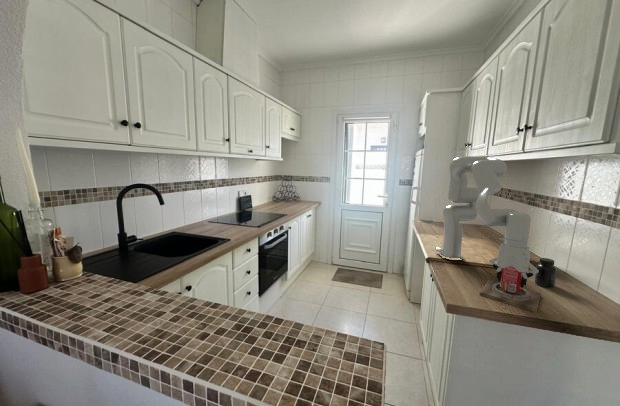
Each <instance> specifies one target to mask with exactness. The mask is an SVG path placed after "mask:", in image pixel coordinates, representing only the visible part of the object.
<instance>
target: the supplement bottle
mask: <svg viewBox="0 0 620 406" xmlns="http://www.w3.org/2000/svg"><path fill="white" fill-rule="evenodd" d="M535 268H536V269H538V270H539V272H538V273H537V274H535V275H534V283H535V285H537V286H540V287H543V288H545V289H546V288H548V289H552V288H555V287H556V279H557V267H556V266H555V260H554V259H553V258H552V259H551V258H547V257H540V258H539V262H538V263H537V264H536V265H535Z"/></svg>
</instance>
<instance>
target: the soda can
mask: <svg viewBox="0 0 620 406" xmlns="http://www.w3.org/2000/svg"><path fill="white" fill-rule="evenodd" d="M512 266H514V265H510V266H508V267H506V268H502V270H501V280H500V281H499V282H500V287H501V288H502V289H503V290H505V291H507V292H510V293H517V292H520V291H521V288H522V287H521V280H522V278H523V275H522V273H521V272H518V270H517V269H516V268H514V267H512Z"/></svg>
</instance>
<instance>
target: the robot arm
mask: <svg viewBox="0 0 620 406" xmlns="http://www.w3.org/2000/svg"><path fill="white" fill-rule="evenodd" d="M507 167H508V166H507V164H506V162H504V160H502V159H500V158H495V157H490V156H486V155H485V156H483V155H481V156H480V155H478V156H477V155H475V156H472V155H471V156H470V155H469V156H457V157H455V158H453V159H452V160H451V162H450V163H449V178H450V179H449V186H448V194H447V197H448V198H447V199H448V201H449V202H451V203H454V204H449V205H446V206H445V207H444V208H443V210H442V215H443V216H442V217H443V237H442V238H443V240H442V241H443V243H442V247H438V246H436V247H435V252H440V253H439V254H441V255H443V256H445V257H449V258H460V259H463V258H464V255H462V247H463V245H462V244H463V242H462V241H463V232H464V231H463V230H464V228H463V226H462V224H460V222H471V221H474V220H476V218H477V216H478V217H479V220H480V221H481V223H482V224H483V225H484V226H487V227H504V236H503V237H499V241H502V243H501V244H500V245H499V249H498V253H497V256H496V257H494V258H491V259H489V263H490V265H491V266H492V267H493V268H494V270H496V271H495V272H496V279H497V282H500V280H501V270H502V268H506V267H508V266H510V265H514V266H512V267H514V268H516V269H517V270H518V272H521V273H522V275H523V278H522V280H521V287H522V288H524V286H525V287H526V286H527V282H528V279H529V278H531V277H534V276H535V274H537V273H538V272H539V270H538V269H536V266H534V264H533V263H531V262H530V261H531V251H530V247H528V243H529V237H530V236H529V235H530V227H531V219H532V217H531V216H530V214H528V213H525V212H520V211H518V210H515V209H513V208H491V206H490V205H489V201H488V198H489V196H492V195H494V194H497V193H498V192H499V191H501V189H502V186H503V185H502V183H501V182H500V180H499V178H501V177H503V176H505V175H506V173H507V170H508V168H507ZM469 173H472V175H473V176H472V177H473V178H474V180H475V183H476V185H477V186H475V185H474V186H473V185H468V183H469V182H468V181H469V179H468V176H467V174H469ZM463 260H464V259H463ZM529 269H531V271H529Z"/></svg>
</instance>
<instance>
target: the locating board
mask: <svg viewBox="0 0 620 406" xmlns="http://www.w3.org/2000/svg"><path fill="white" fill-rule="evenodd" d="M479 295H480V296H483V297H485V298H486V297H487V298H489V299H492V300H495V301H498V302H502V303H504V304H508V305H512V306H514V307H517V308H520V309H525V310H528V311H532V312H534V313H537V311H538V310H537V309H538V306H539V303H540V300H541V296H542V293H541V292H537V291H533V290H529V289H526V288H524V287H523V288H521V291H520V292H517V293H510V292H507V291H505V290H503V289H502V288H501V287H500V281H496V280H492V279H488V281H487V282H486V283H485V285H484V286H483V287H482V289H481V290H480V292H479Z"/></svg>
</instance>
